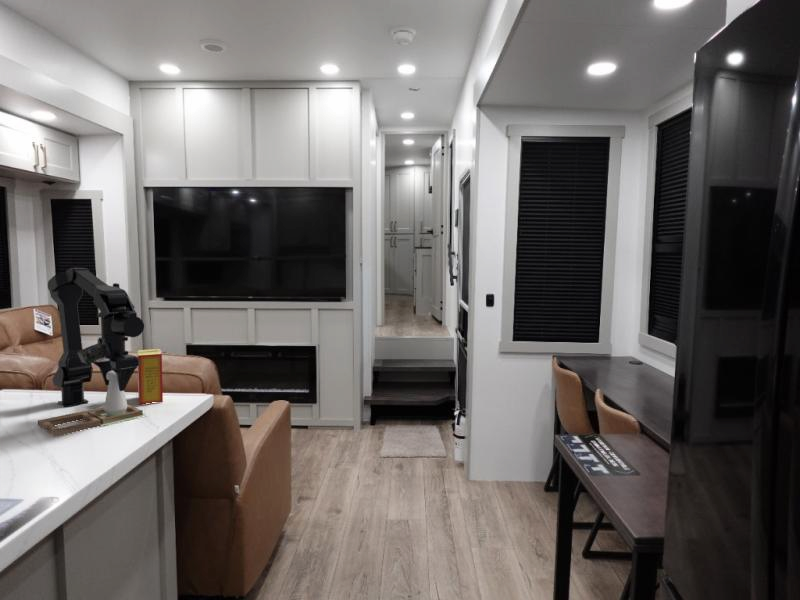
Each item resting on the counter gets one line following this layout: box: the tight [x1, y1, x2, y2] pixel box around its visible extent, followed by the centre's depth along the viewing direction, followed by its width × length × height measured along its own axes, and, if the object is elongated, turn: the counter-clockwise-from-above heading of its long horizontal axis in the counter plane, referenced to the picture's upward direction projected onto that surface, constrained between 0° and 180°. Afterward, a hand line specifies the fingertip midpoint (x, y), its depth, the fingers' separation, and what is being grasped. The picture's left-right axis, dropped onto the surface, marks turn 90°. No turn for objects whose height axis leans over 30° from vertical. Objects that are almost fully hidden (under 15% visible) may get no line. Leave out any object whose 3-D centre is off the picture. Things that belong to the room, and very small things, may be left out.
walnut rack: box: [37, 403, 144, 438], centre depth 134 cm, size 13×21×2 cm, turn 143°
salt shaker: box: [103, 371, 128, 417], centre depth 137 cm, size 6×6×13 cm
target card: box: [99, 411, 147, 427], centre depth 137 cm, size 12×12×1 cm
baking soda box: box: [136, 348, 164, 406], centre depth 153 cm, size 10×6×16 cm
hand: (114, 387), depth 136 cm, fingers open, 9 cm apart
